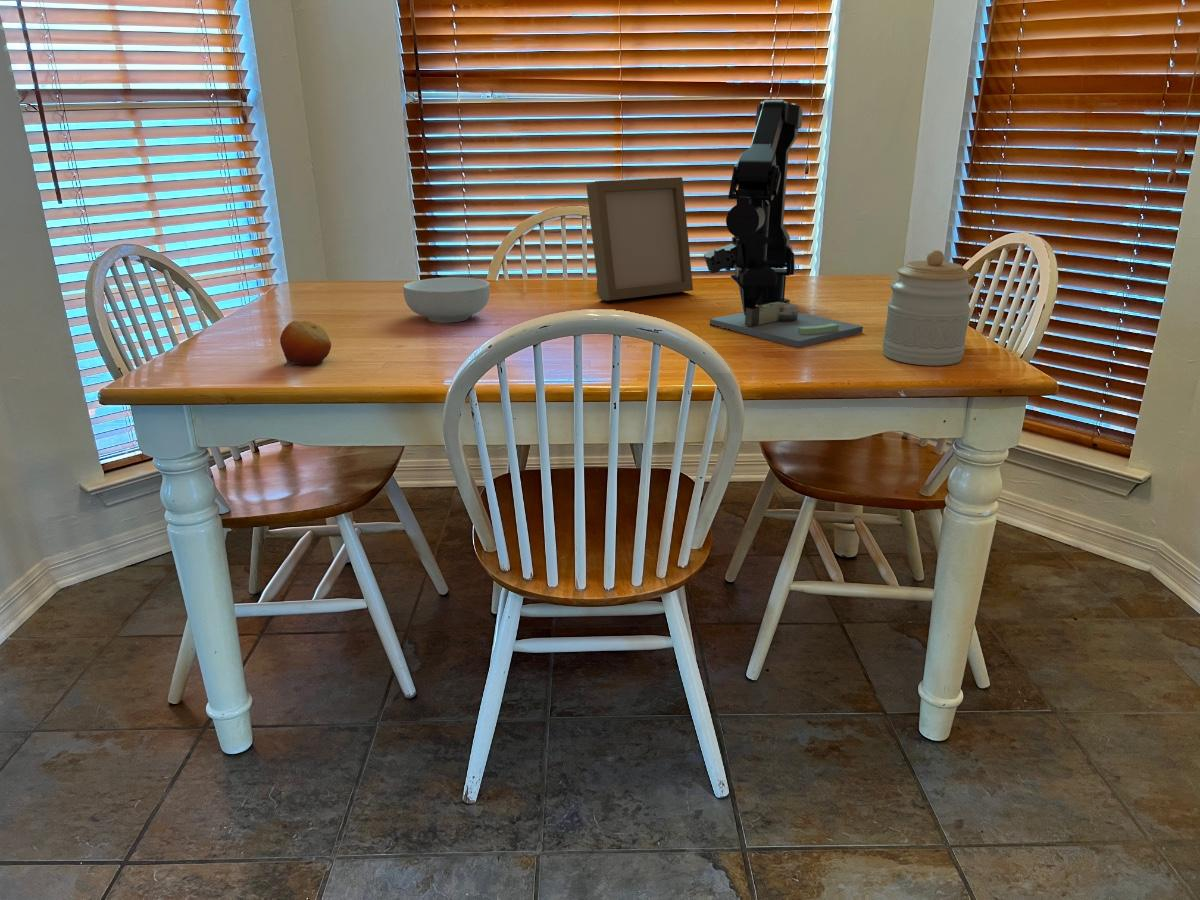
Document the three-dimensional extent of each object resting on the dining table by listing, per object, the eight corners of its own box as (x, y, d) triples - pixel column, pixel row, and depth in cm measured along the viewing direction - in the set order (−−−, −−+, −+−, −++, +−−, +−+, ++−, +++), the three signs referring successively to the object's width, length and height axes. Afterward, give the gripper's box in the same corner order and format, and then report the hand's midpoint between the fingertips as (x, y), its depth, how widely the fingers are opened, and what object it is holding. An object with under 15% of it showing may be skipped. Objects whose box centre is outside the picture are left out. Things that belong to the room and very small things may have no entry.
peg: (783, 314, 169) (784, 297, 168) (802, 318, 165) (804, 302, 164) (738, 323, 162) (739, 306, 161) (757, 328, 158) (759, 310, 157)
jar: (980, 363, 141) (998, 254, 134) (911, 370, 138) (927, 258, 131) (930, 344, 153) (944, 242, 146) (866, 350, 149) (878, 246, 143)
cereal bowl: (506, 314, 177) (505, 279, 174) (461, 331, 162) (459, 294, 160) (437, 307, 183) (435, 273, 181) (388, 323, 169) (385, 287, 167)
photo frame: (692, 294, 194) (697, 178, 185) (609, 304, 184) (609, 183, 175) (657, 284, 206) (659, 174, 197) (576, 293, 196) (575, 178, 187)
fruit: (277, 349, 145) (297, 308, 143) (321, 371, 147) (341, 331, 145) (264, 361, 138) (284, 319, 136) (310, 385, 140) (331, 343, 138)
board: (773, 312, 177) (773, 301, 176) (862, 332, 161) (863, 320, 160) (709, 324, 167) (710, 313, 166) (798, 347, 150) (799, 335, 150)
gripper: (700, 225, 166) (697, 305, 171) (717, 238, 148) (713, 327, 154) (757, 224, 166) (752, 304, 172) (781, 237, 149) (775, 326, 155)
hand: (747, 315), depth 163 cm, fingers closed
